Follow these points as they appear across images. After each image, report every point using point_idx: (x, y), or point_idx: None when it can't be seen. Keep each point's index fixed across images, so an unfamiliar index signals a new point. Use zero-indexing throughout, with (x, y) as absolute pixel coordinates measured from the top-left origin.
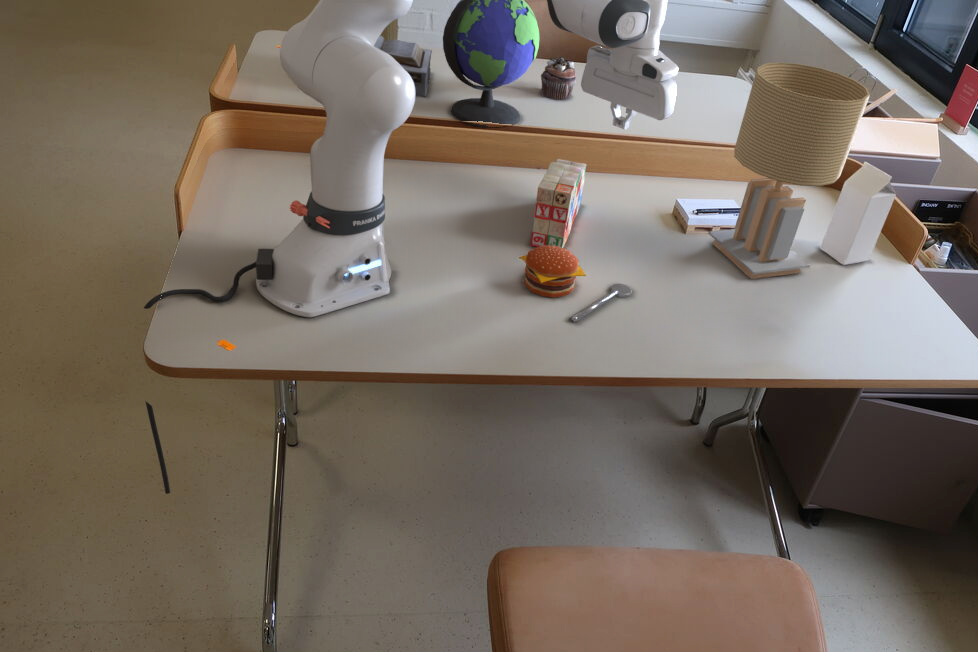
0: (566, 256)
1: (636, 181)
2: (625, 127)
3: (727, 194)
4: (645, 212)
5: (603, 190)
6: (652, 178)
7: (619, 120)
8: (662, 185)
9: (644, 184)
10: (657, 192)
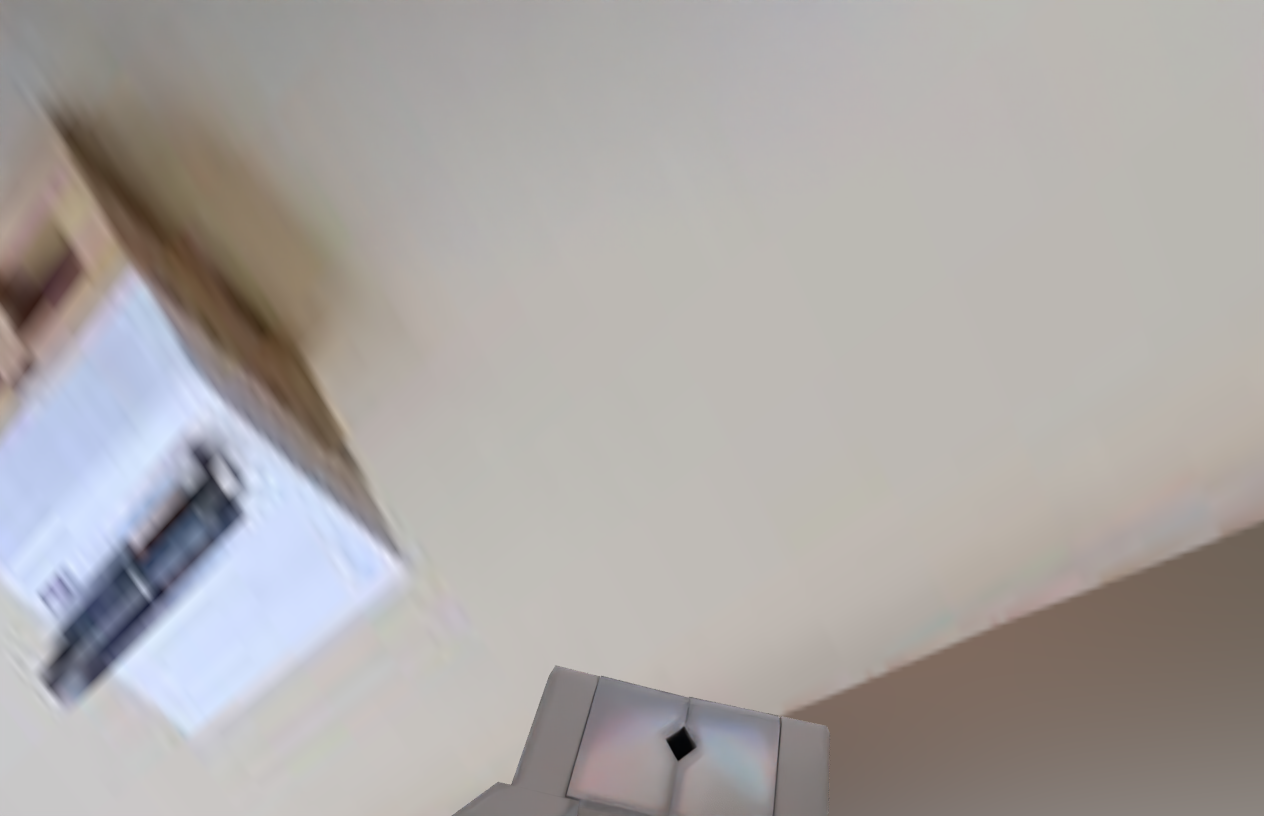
0: None
1: (737, 647)
2: (544, 706)
3: (252, 775)
4: (439, 242)
5: (880, 374)
6: None
7: (667, 795)
8: None
9: (672, 637)
10: (546, 583)
